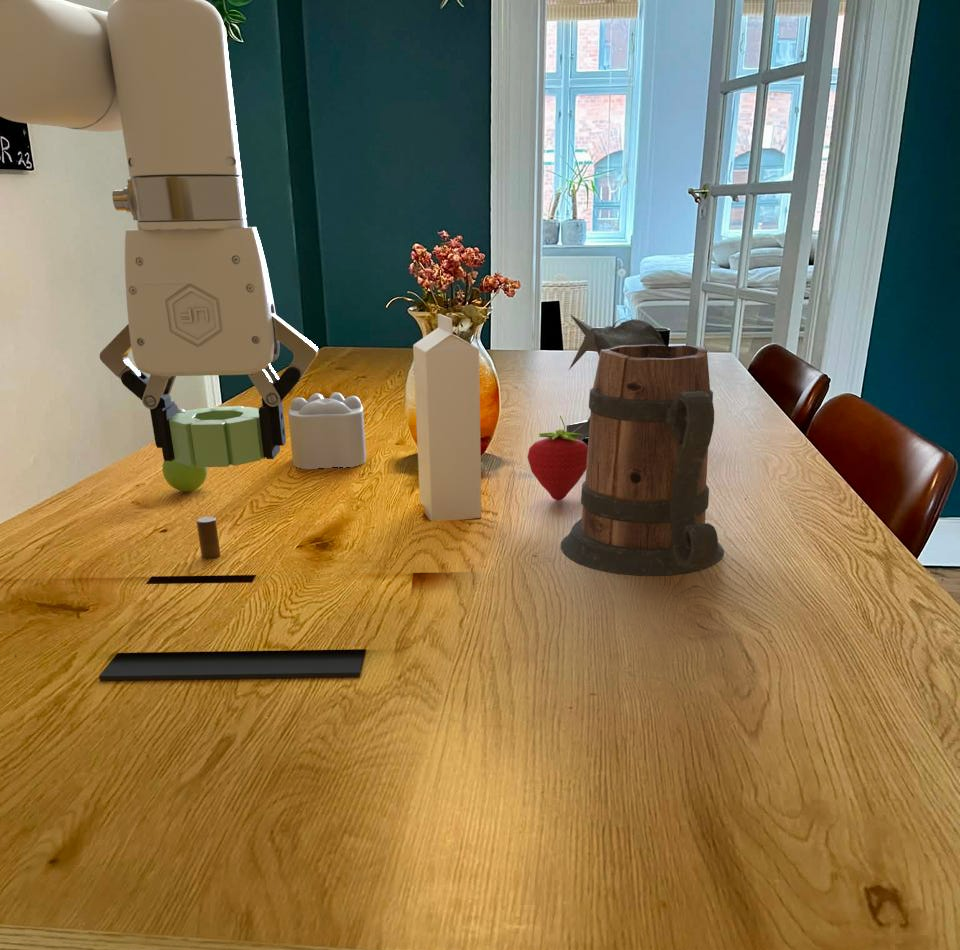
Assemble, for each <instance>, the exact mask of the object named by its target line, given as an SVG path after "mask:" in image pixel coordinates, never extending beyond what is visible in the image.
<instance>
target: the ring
mask: <svg viewBox="0 0 960 950" xmlns="http://www.w3.org/2000/svg"><path fill="white" fill-rule="evenodd" d="M169 426H170V432H171V439H172V445H173V452H174V458H175V462H178V463H181V464H184V465H187V466H190V467H193V466H196V467H207V468H228V467H229V466H234V467H236V466H240V465H246V464H249V463H254V462H259V461H261V460H263V459H264V460H265V459H267V458H266V457H264V455H263V446H262V437H261V429H260V420H259V408H257V407H253V406H243V405H228V406H227V405H223V406H222V405H221V406H220V405H219V406H212V407H208V406H206V407H201V408H194V409H188V410H185V411H182V412H181V413H177V414H175V415H174V416H172V417H171V418H170V419H169Z"/></svg>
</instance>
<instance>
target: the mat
mask: <svg viewBox="0 0 960 950" xmlns="http://www.w3.org/2000/svg"><path fill="white" fill-rule="evenodd" d="M366 653H367V649H366V648H357V649H355V648H354V649H351V648H350V649H289V650H287V649H286V650H285V649H284V650H279V649H278V650H217V651H216V650H215V651H214V650H211V651H210V650H209V651H151V652H150V651H149V652H148V651H145V652H144V651H143V652H139V651H138V652H117V653H116V654H115V655H114V657H112V658H111V660H110V661H109V663H108V664H107V665H106V667H105V668H104V669H103V670H102V672H101V673H100V674H99V675H98V678H99V682H101V681H103V682H104V681H165V680H166V681H167V680H168V681H169V680H170V681H171V680H172V681H173V680H176V681H177V680H232V679H233V680H238V679H241V680H242V679H243V680H244V679H301V678H302V679H307V678H309V679H311V678H318V679H319V678H360V677H361V674H362V668H363V664H364V661H365V657H366Z"/></svg>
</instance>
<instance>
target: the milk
mask: <svg viewBox="0 0 960 950" xmlns="http://www.w3.org/2000/svg"><path fill="white" fill-rule="evenodd" d="M453 331H454V330H453V319H452V318H451V317H449V316H446V315H443V314H441V313H437V328H435V329H433V330H432V331H431V332H430V333H429V334H427V335H425V336H424V337H422V338H421V339H420V340H418V341H417V342H415V343H414V344H413V345H412V348H413V349H412V350H413V352H412V353H413V374H414V375H413V376H414V377H413V378H414V397H415V398H414V399H415V419H416V421H415V423H416V440H417V441H416V445H417V468H418V470H417V471H418V490H419V494H418V495H419V504H421V505H422V506H423V514H424V515H425V516H426V517H427V519H428V520H429V521H430V522H433V521H434V522H435V521H439V522H441V521H443V522H444V521H465V520H472V519H473V520H474V519H482V513H483V512H482V453H481V447H482V446H481V445H482V443H481V386H480V385H481V384H480V383H481V382H480V380H481V378H480V348H479V347H477V346H475V345H473V344H471V343H469V342H468V341H466V340H465V339H462V338H461V337H459V336H457V335H456V334H454V333H453Z"/></svg>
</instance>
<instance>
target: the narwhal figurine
mask: <svg viewBox="0 0 960 950" xmlns="http://www.w3.org/2000/svg"><path fill="white" fill-rule="evenodd" d="M570 317H571V318H572V320H573V321H574V322H575V324H576V326H577V327H578V328H579V330H580V331H581V332H582V333H583V336H585V337H584V338H583V340H582V343H581V344H580V347H579V349H578V350H577V352H576V354H575V356H574V359H573V360H572V362H571V364H570V366H569V368H568V370H567V371H570V370H571V369H572V367H573V366H575V364H577V362H578V361H579V360H580V359H581V358H582V357H583V356H584V355H585V353H586V352H588V351H589V352H596V353H597V355H598V357H599V356H600V351H601V350H603V349H610V348H613V347H617V346H624V345H662V346H666V344H665V341H664V339H663V338H662V336H661V334H660V332H659V331H658V330H657V329H656V328H655V327H654V326H653V325H652V324H651V323H650V322H647V321H645V320H642V319H641V320H640V319H637V318H633V319H632V318H631V319H628V320H625V321H623V322H620V324H619V325H617V326H615V327H614V326H611V325H609V326H608V325H607V326H604V327H603V326H601V327H595V326H594V327H592V326H591V325H589V324H588V323H586V322H583V321H582V320H580V319H579V318H576V317H575V316H574V315H572V314H570ZM589 426H590V416H589V418H588V419H587V420H582V421H579V422H575V423H571V424H567V425H566V428H565V431H566V432H569V433H570V432H571V433H577V434H583V436H574V437H573V438H574V439H577V440H581V441H583V440H584V439H586V438H589Z"/></svg>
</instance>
